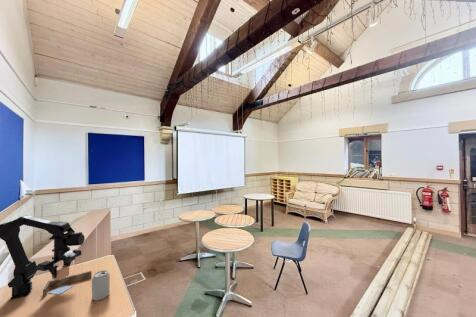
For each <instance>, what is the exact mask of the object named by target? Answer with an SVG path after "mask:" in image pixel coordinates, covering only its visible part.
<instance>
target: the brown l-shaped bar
mask: <svg viewBox="0 0 476 317" xmlns="http://www.w3.org/2000/svg"><path fill="white" fill-rule="evenodd" d="M92 274H93V272H92V270H89V271H85V272H80V273H76V274H72V275H68V276H66V277H65V278H63V279H61V280H54V279H51V280H48V281H47V283H46V285H45V286H44V287H43V289H42V297H46V296H47V295H48V294H49V291H50V289H52V288H55V287H56V288H57V287H60V286H62V285H68V284H70V283H75V282H78V281H82V280H86V279H92V278H93V275H92Z"/></svg>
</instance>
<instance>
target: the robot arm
mask: <svg viewBox="0 0 476 317" xmlns="http://www.w3.org/2000/svg"><path fill="white" fill-rule="evenodd" d="M22 226H28V227H32V228H36V229H39V230H44V231H47V232H48V233H49V234H50V235H52V236H50V237H49V238H48V239H49V240H53V249H51V252H52V253H53V256H52V257H51V261H49V260H45V261H43V262H40V263H38V264H37V262H36V261H35V260H33V261H30V260H29V259H28V257H27V254H26V252H25V249H24V247H23V243H22V242H21V239H20V236H19V235H20V232H21V227H22ZM0 240H2V241H4V242H5V244H6V248H7V250H8V252H9V254H10V257H11V259H12V263H13V264H14V270H13V271H12V272H13V273H12V275H13V278H12V279H11V280H10V281H9V282H8V283H7V286H8V288H9V289H10V288H11V297H10V298H9V299H10V300H14V299H13V298H15V299H18V298H22V297H25V296H29V294H30V292H32V290H33V282H32V279H34V276H35V275H36V274H37V272H38V271H41V272H47V271H49V273H50V274H51V277H52V276H53V277H54V278H56V276H57V267H59V265H57V264H58V263H60V262H61V261H63V262H62V265H65V266H69V267H71V264H72V262H73V261H75V260H76V258H78V257H80V256H81V255H82V250H81V249H79V248H76V249H72V250H71V248H70V247H74V246H75V247H76V246H82V245H84V242H85V235H84V234H83V232H82V231H80V232H76V231H75V229H74V228H72V227H71V225H70V223H69V222H68V221H53V220H52V221H51V220H47V219H43V218H39V217H35V216H31V215H29V214H26V215H24V216H23V215H22V216H19V217H17V218H16V219H14V220H10V221H7V222H3V223H0Z"/></svg>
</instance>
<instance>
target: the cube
mask: <svg viewBox="0 0 476 317" xmlns="http://www.w3.org/2000/svg"><path fill="white" fill-rule="evenodd" d="M67 276H70V266H65V265H64V264H62V265H58V267H57V276H56V278H54V277H53V276H52V275H51V280H61V279H63V278H65V277H67Z"/></svg>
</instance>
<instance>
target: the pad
mask: <svg viewBox="0 0 476 317" xmlns="http://www.w3.org/2000/svg"><path fill="white" fill-rule="evenodd" d="M71 288H73V286H71V285H67V284H64V285H60V286H57V287H56V288H55V289H52V290H51V291H50V292H49V291H48V294H52V295H57V296H60V295H61V294H63V293H65V292H66V291H68V290H69V289H71Z"/></svg>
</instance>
